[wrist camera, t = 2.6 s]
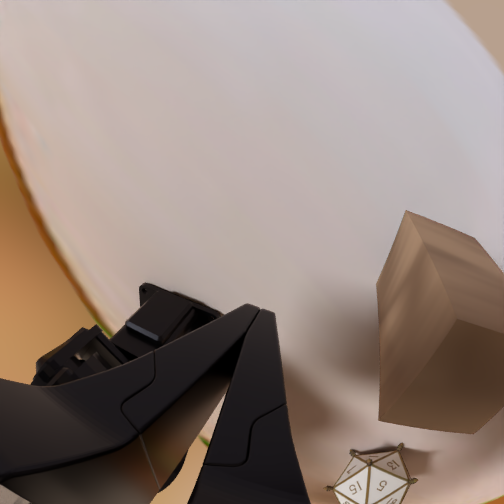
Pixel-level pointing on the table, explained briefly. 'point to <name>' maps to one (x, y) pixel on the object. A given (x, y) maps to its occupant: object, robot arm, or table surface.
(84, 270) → the table surface
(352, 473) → the game die
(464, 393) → the brown rectangular block
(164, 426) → the robot arm
